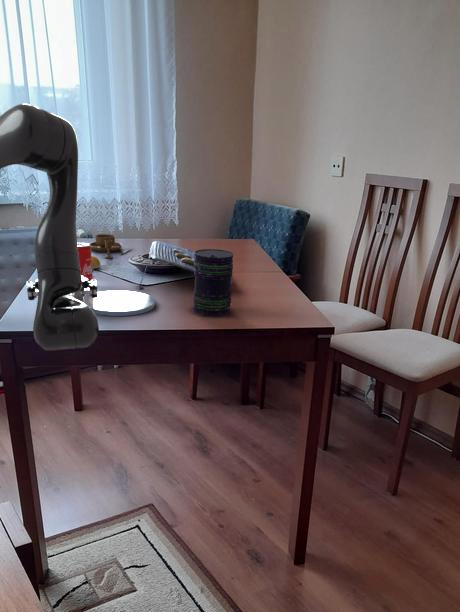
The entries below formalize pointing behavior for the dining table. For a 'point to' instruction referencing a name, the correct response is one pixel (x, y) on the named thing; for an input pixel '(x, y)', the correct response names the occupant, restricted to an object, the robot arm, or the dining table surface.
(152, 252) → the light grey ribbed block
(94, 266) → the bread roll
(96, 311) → the plate
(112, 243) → the place setting
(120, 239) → the dining table surface
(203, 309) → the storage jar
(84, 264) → the beverage can
